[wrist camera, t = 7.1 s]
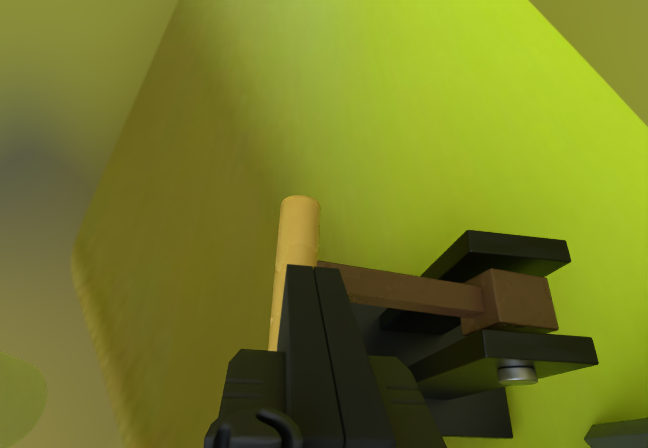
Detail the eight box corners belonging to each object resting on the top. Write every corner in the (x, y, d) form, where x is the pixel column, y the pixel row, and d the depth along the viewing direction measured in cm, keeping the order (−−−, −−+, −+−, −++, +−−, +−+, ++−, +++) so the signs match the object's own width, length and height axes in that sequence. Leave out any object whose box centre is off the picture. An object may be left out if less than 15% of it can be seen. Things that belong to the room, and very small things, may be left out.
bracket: (315, 431, 25) (381, 415, 13) (320, 287, 29) (373, 176, 17) (503, 438, 27) (714, 430, 15) (482, 301, 31) (632, 207, 19)
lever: (260, 366, 15) (276, 353, 13) (274, 215, 18) (289, 185, 15) (525, 389, 18) (572, 381, 16) (501, 256, 20) (538, 236, 18)
